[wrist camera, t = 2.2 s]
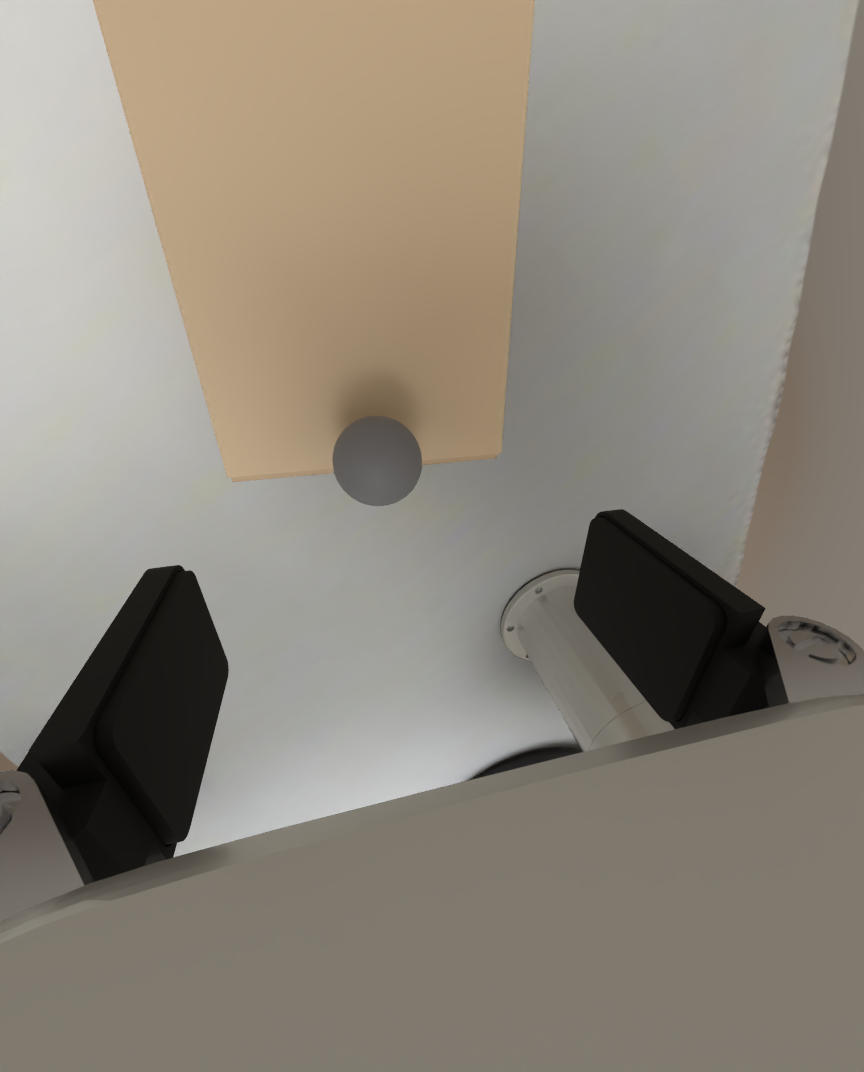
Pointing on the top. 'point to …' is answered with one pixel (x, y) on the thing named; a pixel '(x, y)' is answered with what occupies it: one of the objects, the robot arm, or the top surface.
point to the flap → (335, 219)
